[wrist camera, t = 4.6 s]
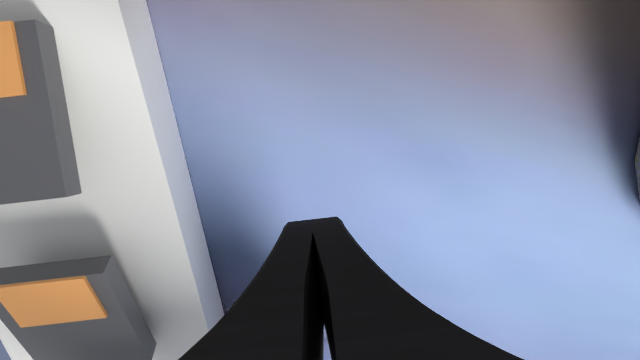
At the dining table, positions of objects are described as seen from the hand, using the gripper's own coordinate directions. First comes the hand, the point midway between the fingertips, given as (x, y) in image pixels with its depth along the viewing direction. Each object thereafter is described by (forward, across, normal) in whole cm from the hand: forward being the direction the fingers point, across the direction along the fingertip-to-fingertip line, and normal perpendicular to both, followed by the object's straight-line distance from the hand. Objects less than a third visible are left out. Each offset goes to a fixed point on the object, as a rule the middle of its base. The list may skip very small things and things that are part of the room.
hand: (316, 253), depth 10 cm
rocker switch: (+6, +11, +6) cm, 14 cm away
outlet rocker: (+6, +11, -3) cm, 13 cm away
